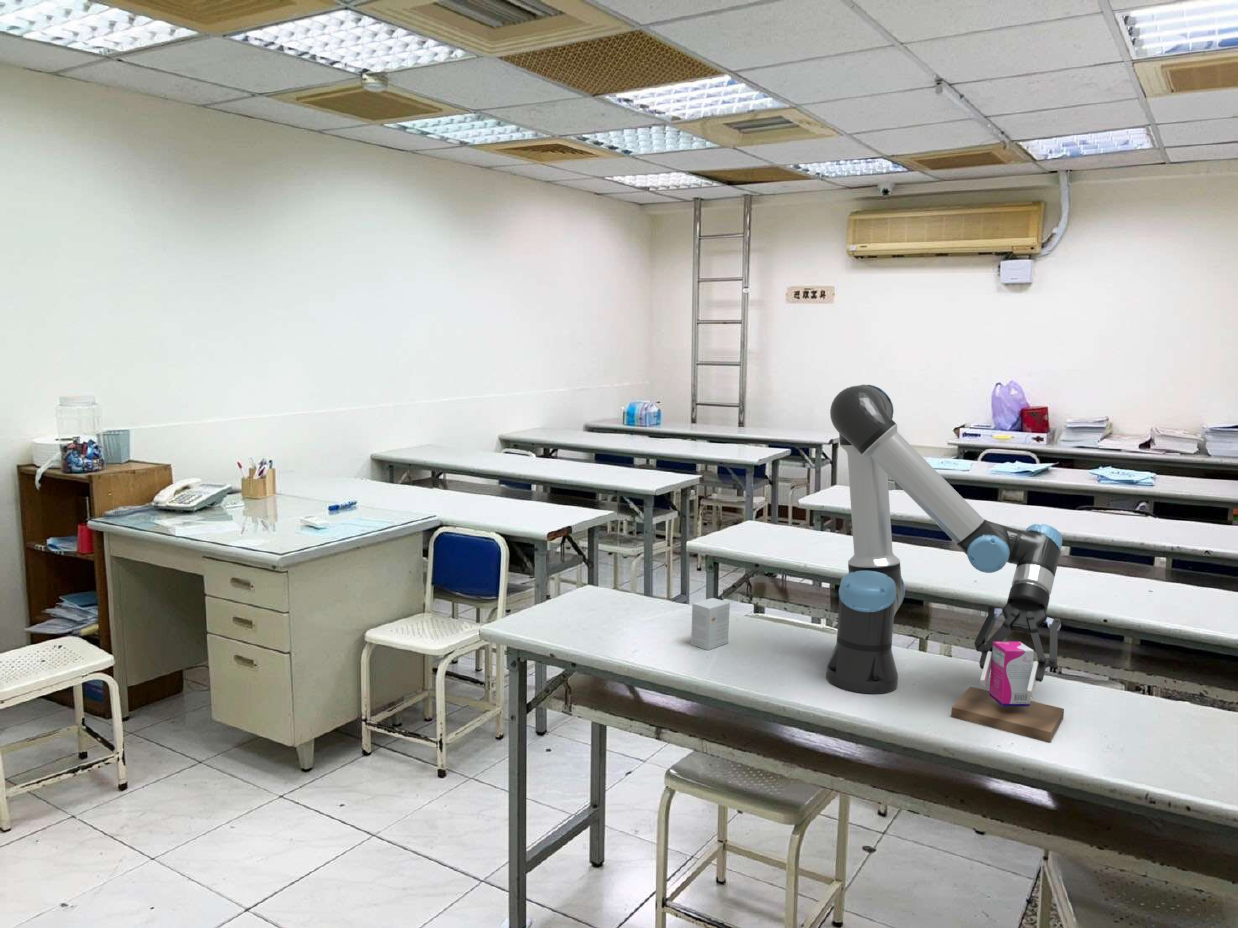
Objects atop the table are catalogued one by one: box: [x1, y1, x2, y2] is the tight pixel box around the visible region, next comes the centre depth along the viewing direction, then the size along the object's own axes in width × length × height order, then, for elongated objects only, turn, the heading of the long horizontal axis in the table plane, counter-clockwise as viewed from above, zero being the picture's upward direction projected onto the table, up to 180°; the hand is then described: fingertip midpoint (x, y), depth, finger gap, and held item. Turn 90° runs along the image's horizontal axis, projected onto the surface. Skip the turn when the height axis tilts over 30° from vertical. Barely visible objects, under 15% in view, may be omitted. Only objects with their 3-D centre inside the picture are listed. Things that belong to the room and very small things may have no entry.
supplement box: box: [988, 641, 1035, 706], centre depth 170 cm, size 6×6×12 cm
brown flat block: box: [950, 686, 1065, 743], centre depth 171 cm, size 18×14×2 cm
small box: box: [690, 597, 731, 651], centre depth 210 cm, size 8×6×10 cm
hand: (1006, 688), depth 168 cm, fingers closed on supplement box, 8 cm apart
